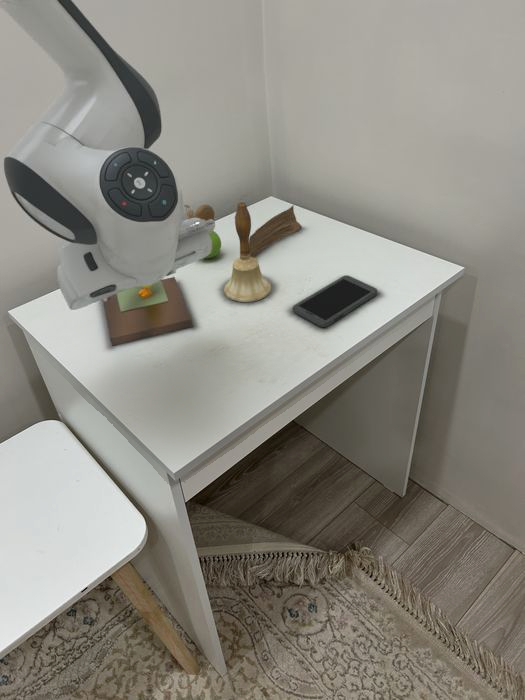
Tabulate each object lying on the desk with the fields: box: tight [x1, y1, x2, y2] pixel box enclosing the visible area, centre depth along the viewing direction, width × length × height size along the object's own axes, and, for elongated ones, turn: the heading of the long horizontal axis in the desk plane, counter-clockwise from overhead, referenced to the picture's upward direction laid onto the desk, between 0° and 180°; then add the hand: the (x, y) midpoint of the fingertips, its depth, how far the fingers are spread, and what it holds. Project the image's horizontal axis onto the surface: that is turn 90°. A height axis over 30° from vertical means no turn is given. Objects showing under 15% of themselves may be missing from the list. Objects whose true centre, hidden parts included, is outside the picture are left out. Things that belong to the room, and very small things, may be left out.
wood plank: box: [249, 204, 302, 258], centre depth 107 cm, size 15×2×5 cm, turn 143°
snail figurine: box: [183, 203, 222, 259], centre depth 102 cm, size 5×6×12 cm
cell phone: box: [292, 275, 379, 328], centre depth 91 cm, size 7×14×1 cm, turn 132°
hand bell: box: [223, 201, 272, 303], centre depth 91 cm, size 8×8×16 cm
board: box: [102, 276, 194, 346], centre depth 91 cm, size 13×14×2 cm
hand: (137, 282), depth 77 cm, fingers open, 8 cm apart
